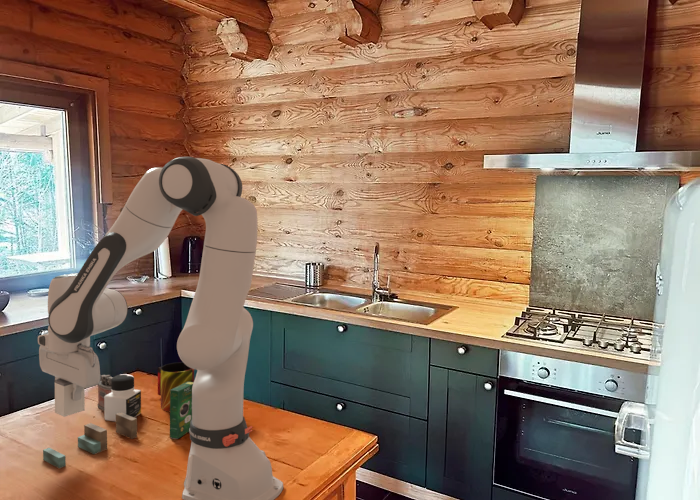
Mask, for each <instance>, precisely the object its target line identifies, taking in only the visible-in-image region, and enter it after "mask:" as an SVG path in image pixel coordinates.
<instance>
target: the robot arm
mask: <svg viewBox="0 0 700 500" xmlns="http://www.w3.org/2000/svg"><path fill="white" fill-rule="evenodd" d="M242 194H243V182H242V179H241V176H239V173H238V172H237V171H236V170H234V169H233V167H230V166H228V165H227V164H224V163H219V162H215V161H213V160H211V159H206V158H201V157H193V156H179V157H176V158H174V159H171V160H170V161H168V162H166V164H164V166H163V167H152V168H150V169H149V170H147V171H146V172H145V173H144V175H143V176H142V177H141V178H140V180H139V181H138V182H137V184H136V185H135V187H134V188H133V190H132V191H131V193H130V195H129V197H128V199H127V201H126V202H125V204H124V206H123V208H122V209H121V212H120V213H119V215H118V217H117V219H115V222H114V223H113V224H112V225H111V227H110V228H109V230H108V231H107V232H106V233H105V235H104V236H102V238H101V239H100V240H99V241H98V243H97V244H96V245H95V246H94V248H93V249H92V251H91V253H90V254H89V255H88V257H87V259H86V260H85V262H84V263H83V265H82V267H81V268H80V270H79V271H78V272H74V273H69V274H61V275H57V276H55V277H53V278H52V279H51V280H50V284H49V285H48V286H49V288H48V291H47V292H48V293H47V313H48V315H47V316H48V317H47V318H48V319H47V320H48V322H47V323H48V327H47V333H44V334H40V335H38V336H37V344H38V345H39V347H38V348H39V349H38V357H39V367H40V369H41V371H42V372H43V373H46V374H49V375H50V376H53V377H54V381H55V380H57V379H63V380H66V381H68V382H71V383H73V387H74V390H73V392H71V399H72V400H74V401H77V400H80V399H81V392H82V390H83V388H84V389H89V388H93V387H96V386H98V384H99V382H100V381H101V369H100V368H101V367H100V361H99V360H100V359H99V357H98V355H97V353H95V351H94V350H93V347H91V336H95V335H97V334H100V333H103V332H106V331H108V330H111V329H113V328H116V327H118V326H120V325H122V324H123V323H124V322H125V321H126V318H127V316H128V311H129V308H128V303H127V300H126V298H125V296H124V295H123V294H122V293H121V292H120V291H118V290H116V289H113V288H108V285H109V284H110V282H111V280H112V279H113V277H114V276H115V275H116V274H117V272H119V270H121V269H122V268H124V266H126V265H128V264H130V263H132V262H134V261H135V260H138V259H139V258H142V257H144V256H147V255H149V254H151V253H153V252H155V251H156V250H158V249H159V248H160V247H161V245H163V243H164V242H165V240H166V239H167V238H168V236H169V234H171V231H172V229H173V227H174V225H175V223H176V221H177V219H178V217H179V215H180V213H181V212H182V211H184V212H187V213H188V214H190V215H192V216H195V217H198V216H202V218H203V219H204V222H205V234H204V241H203V249H202V255H201V256H202V257H201V261H200V262H201V263H200V269H199V270H200V271H199V276H198V277H199V278H198V281H197V285H196V288H195V289H196V290H195V292H194V295H193V298H192V301H191V304H190V307H189V311H188V314H187V317H186V320H185V323H184V326H183V329H181V332H180V333H179V336H178V338H177V342H176V350H177V354H178V357H179V359H180V361H181V362H183V363H184V364H185V365H187V366H188V367H190V368H192V369H194V371H196V374H195V376H194V383H193V386H192V420H191V422H190V428H189V432H188V433H189V439H190V441H191V443H190V448H189V449H190V450H189V453H188V456H187V457H188V458H187V465H186V466H187V468H186V473H185V475H186V476H185V479H184V482H183V487H184V489H183V490H182V495H181V499H182V500H276V499H277V498H278V497H279V495H280V494H281V493H282V491H283V490H284V482H283V481H281V479H278V478H277V477H275V476H274V474H273V468H272V462H271V460H269V458H268V457H267V455H266V453H265V451H264V450H261V449H260V448H259V446H257V444H256V443H255V442H254V441H253V440H252V438H251V437H250V433H251V432H252V431H253V429H252V428H253V426H252V425H250V426H249V427H248V425H247V421H246V418H245V417H244V387H245V385H244V384H245V377H246V376H245V375H246V371H247V365H248V358H249V352H250V351H249V350H250V344H251V343H250V341H251V336H252V333H253V329H254V321H253V317H252V316H251V315H252V314H251V313H250V312H249V311H248V310H247V309H246V308H245V307H244V305H245V303H246V300H247V298H248V294H249V292H250V289H251V286H252V280H253V274H254V265H255V260H256V253H257V245H258V212H257V207H256V206H255V204H254V203H253V202H251V201H250V200H248V199H246V198H245V197H242Z"/></svg>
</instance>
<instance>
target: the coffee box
mask: <svg viewBox="0 0 700 500" xmlns="http://www.w3.org/2000/svg"><path fill="white" fill-rule="evenodd" d="M193 383H194V382H186V383H184V384H182V385H180V386H177V387H175V388H173V389H171V390H170V412H169V438H170V439H173V440H179V439H180V438H182V437H183V436H184V435H186V434H188V433H189V428H190V422H191V420H192V386H193Z"/></svg>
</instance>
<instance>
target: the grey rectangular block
mask: <svg viewBox="0 0 700 500" xmlns="http://www.w3.org/2000/svg"><path fill="white" fill-rule="evenodd" d="M73 390H74V387H73V383H71V382H68V381H66V380H63V379H57V380H55V379H54V413H55V414H57V415H59V416H61V417H63V418H65V417H68V416H71V415H75V414H77V413H81V412H83V411H85V407H86V405H85V400H86V399H85V395H86V394H85V388H83V390H82V392H81V399H80V400H77V401H74V400H72V399H71V392H73Z"/></svg>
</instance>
